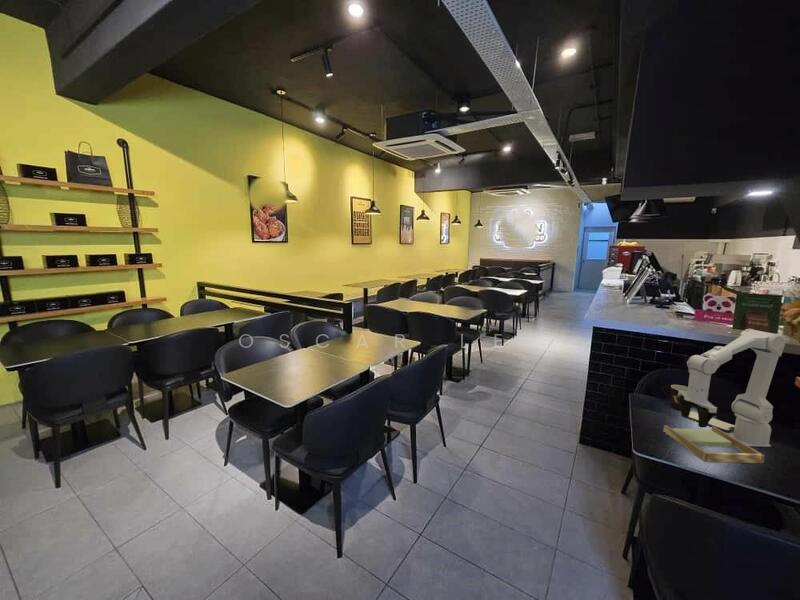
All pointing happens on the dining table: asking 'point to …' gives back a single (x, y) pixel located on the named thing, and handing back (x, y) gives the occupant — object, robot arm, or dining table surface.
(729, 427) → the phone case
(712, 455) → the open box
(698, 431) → the cover plate
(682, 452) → the dining table surface
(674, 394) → the coffee mug
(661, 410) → the dining table surface
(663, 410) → the dining table surface
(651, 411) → the dining table surface
